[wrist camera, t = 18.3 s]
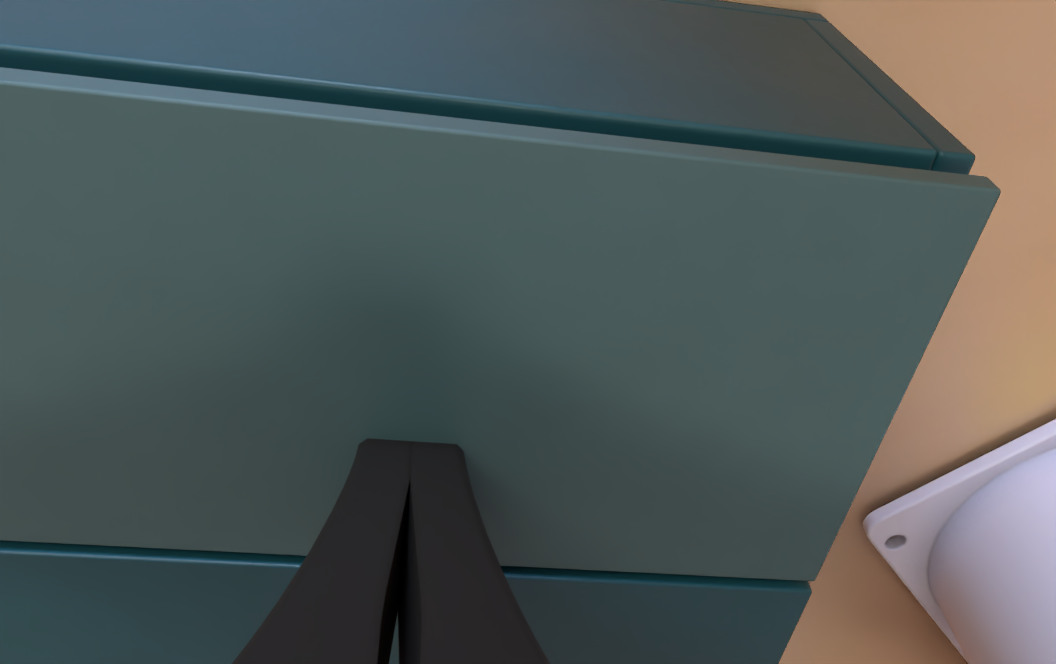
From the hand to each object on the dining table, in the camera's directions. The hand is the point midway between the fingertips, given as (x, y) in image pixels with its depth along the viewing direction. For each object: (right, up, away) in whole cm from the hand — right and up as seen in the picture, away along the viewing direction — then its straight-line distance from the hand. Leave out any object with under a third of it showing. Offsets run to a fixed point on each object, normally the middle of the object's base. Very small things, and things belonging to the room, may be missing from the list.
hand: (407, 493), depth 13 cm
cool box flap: (0, +2, -1) cm, 2 cm away
